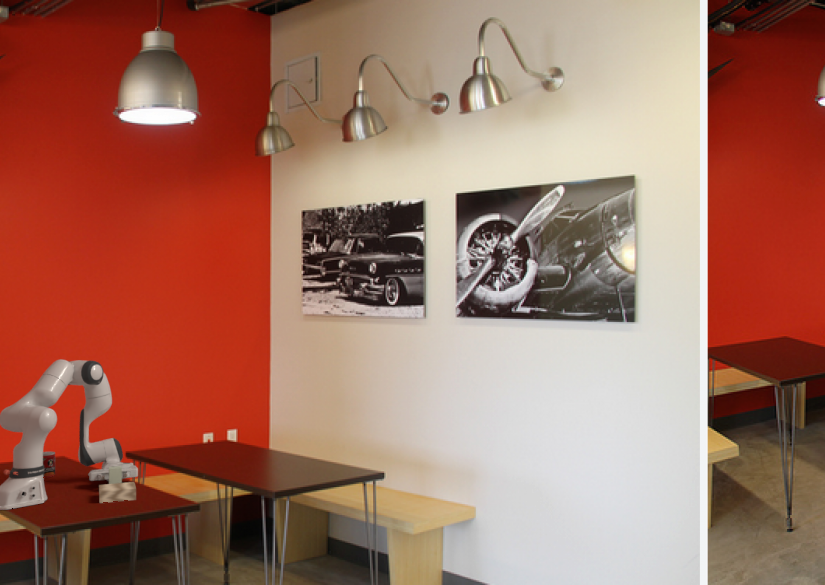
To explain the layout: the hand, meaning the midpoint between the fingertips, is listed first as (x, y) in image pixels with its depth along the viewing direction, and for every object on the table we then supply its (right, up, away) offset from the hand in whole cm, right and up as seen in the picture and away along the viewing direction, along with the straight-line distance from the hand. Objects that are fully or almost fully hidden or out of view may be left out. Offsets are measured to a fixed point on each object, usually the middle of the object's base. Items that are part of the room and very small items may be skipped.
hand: (114, 476), depth 347 cm
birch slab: (+7, -5, -16) cm, 18 cm away
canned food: (-44, -7, +31) cm, 54 cm away
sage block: (+1, -5, -2) cm, 6 cm away
